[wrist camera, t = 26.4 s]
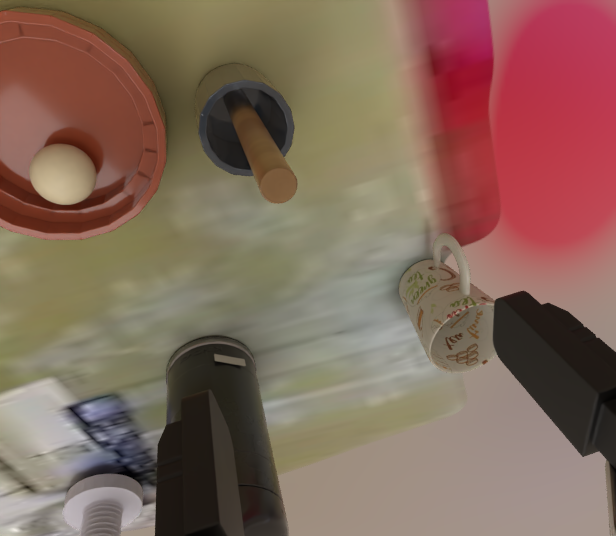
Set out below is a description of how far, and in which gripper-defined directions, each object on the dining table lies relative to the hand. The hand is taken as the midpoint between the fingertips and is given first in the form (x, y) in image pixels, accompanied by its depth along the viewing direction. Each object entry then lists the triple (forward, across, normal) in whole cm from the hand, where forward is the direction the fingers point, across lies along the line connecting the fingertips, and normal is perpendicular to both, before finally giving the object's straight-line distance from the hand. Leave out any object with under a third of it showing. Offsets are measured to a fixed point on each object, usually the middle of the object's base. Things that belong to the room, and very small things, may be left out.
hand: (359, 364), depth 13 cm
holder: (+30, 0, 0) cm, 30 cm away
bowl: (+30, +13, -2) cm, 33 cm away
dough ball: (+28, +12, 0) cm, 30 cm away
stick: (+30, 0, -1) cm, 30 cm away
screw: (+30, +27, +39) cm, 56 cm away
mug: (+30, -15, +21) cm, 40 cm away
